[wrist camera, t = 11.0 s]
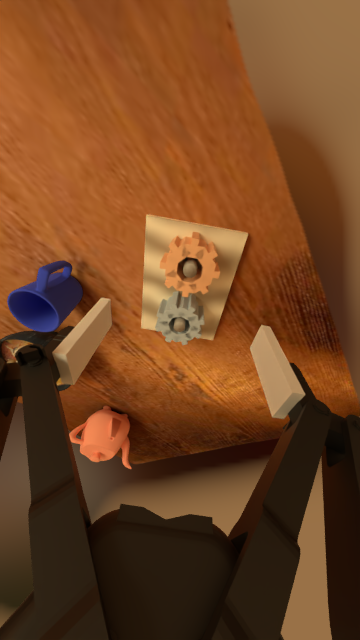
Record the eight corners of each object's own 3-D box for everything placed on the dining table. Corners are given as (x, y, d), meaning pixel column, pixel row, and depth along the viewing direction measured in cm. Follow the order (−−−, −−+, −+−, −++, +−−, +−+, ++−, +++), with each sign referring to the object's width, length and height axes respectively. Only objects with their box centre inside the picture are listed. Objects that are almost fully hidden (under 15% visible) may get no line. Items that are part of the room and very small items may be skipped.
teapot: (125, 401, 61) (109, 448, 50) (141, 428, 70) (131, 472, 59) (81, 403, 64) (56, 448, 53) (102, 428, 73) (85, 471, 62)
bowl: (99, 365, 52) (81, 397, 44) (44, 368, 55) (17, 399, 46) (70, 312, 43) (39, 341, 35) (5, 319, 45) (-37, 347, 37)
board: (148, 214, 30) (136, 220, 25) (246, 232, 31) (257, 241, 25) (142, 324, 43) (134, 344, 37) (212, 335, 43) (214, 358, 38)
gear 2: (153, 295, 37) (147, 308, 33) (199, 286, 35) (199, 299, 31) (166, 331, 42) (162, 347, 38) (207, 325, 40) (208, 341, 36)
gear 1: (167, 226, 30) (162, 232, 26) (224, 237, 30) (228, 244, 26) (162, 280, 35) (157, 292, 31) (210, 288, 35) (211, 301, 31)
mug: (98, 264, 36) (68, 286, 28) (83, 310, 42) (55, 339, 34) (54, 240, 34) (8, 256, 26) (45, 292, 40) (6, 318, 32)
